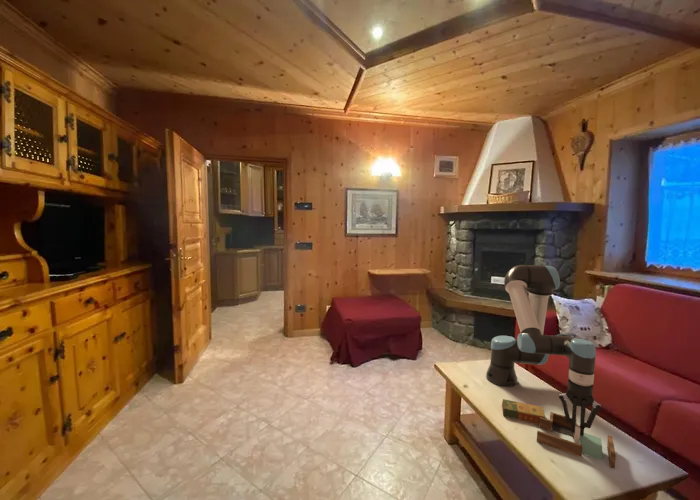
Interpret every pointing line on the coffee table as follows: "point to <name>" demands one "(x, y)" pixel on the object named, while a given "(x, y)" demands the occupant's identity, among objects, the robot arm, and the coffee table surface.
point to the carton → (522, 411)
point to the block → (591, 446)
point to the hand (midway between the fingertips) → (576, 441)
